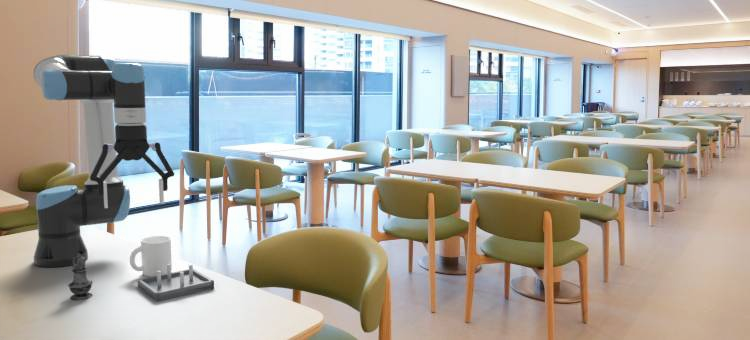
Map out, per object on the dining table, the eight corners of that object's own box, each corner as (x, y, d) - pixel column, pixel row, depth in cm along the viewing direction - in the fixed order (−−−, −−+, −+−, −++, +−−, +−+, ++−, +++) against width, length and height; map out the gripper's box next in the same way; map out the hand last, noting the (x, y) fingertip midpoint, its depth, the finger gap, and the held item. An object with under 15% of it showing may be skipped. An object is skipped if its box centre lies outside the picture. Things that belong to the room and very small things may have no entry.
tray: (137, 287, 164) (136, 267, 163) (192, 275, 174) (192, 257, 173) (156, 301, 153) (155, 280, 152) (214, 288, 163) (213, 268, 163)
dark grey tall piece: (98, 294, 158) (96, 251, 156) (81, 301, 152) (78, 257, 150) (81, 291, 160) (78, 248, 158) (63, 299, 154) (60, 254, 152)
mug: (135, 282, 168) (134, 247, 166) (125, 275, 174) (123, 241, 172) (176, 273, 176) (175, 239, 174) (165, 266, 182) (163, 234, 180)
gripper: (76, 126, 143) (81, 211, 146) (183, 124, 154) (186, 204, 157) (76, 124, 149) (81, 206, 152) (179, 122, 160) (181, 198, 163)
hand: (134, 205), depth 155 cm, fingers open, 13 cm apart
